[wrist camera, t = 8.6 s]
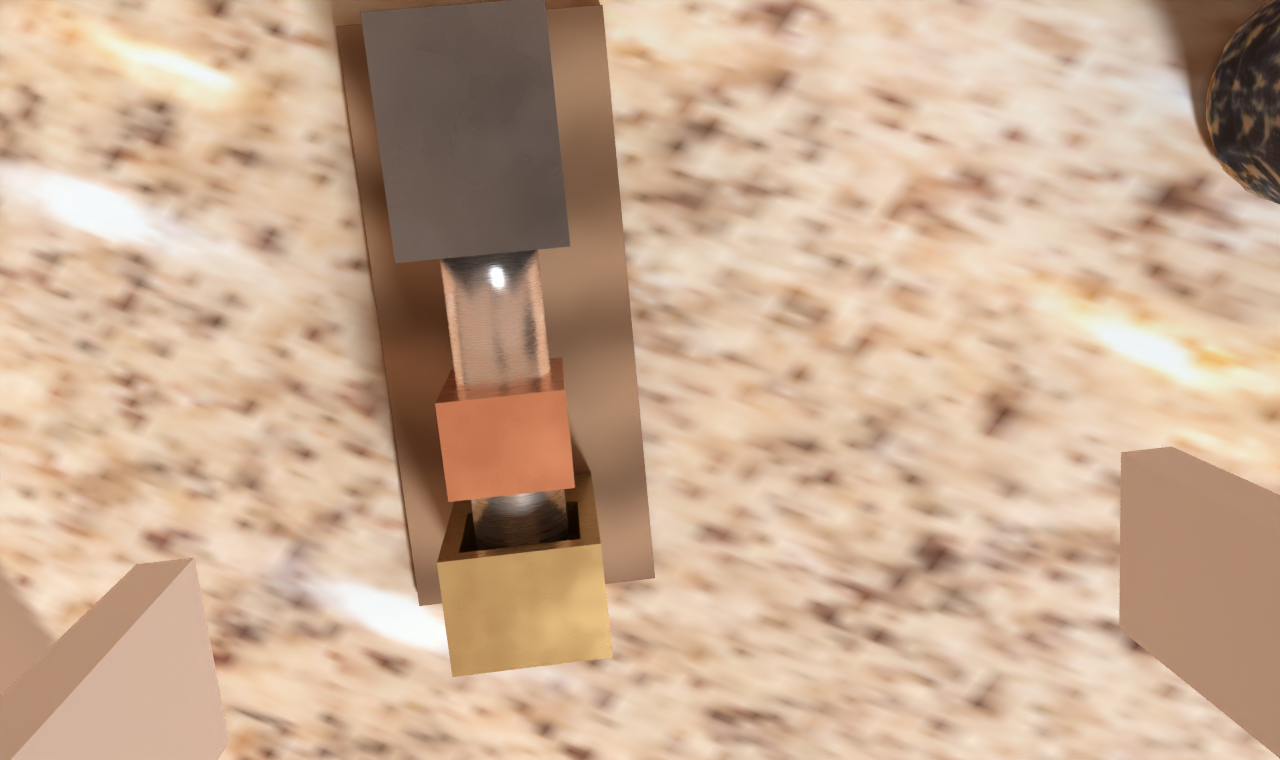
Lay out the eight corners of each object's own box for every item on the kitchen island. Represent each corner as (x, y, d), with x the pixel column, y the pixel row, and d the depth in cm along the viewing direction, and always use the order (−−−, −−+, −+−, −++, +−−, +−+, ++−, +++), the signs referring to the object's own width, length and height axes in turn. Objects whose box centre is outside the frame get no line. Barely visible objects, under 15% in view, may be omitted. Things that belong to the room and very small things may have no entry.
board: (339, 28, 47) (336, 26, 46) (601, 7, 48) (602, 4, 47) (421, 599, 53) (419, 605, 52) (653, 572, 54) (655, 578, 53)
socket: (459, 482, 52) (436, 562, 41) (590, 467, 52) (600, 543, 42) (471, 574, 53) (452, 677, 42) (600, 560, 53) (612, 657, 43)
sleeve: (402, 46, 47) (360, 11, 37) (545, 34, 48) (544, -3, 37) (428, 242, 49) (395, 263, 39) (565, 229, 50) (570, 246, 39)
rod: (426, 177, 45) (404, 179, 38) (541, 167, 45) (540, 167, 38) (474, 545, 48) (462, 608, 41) (580, 533, 49) (586, 593, 42)
